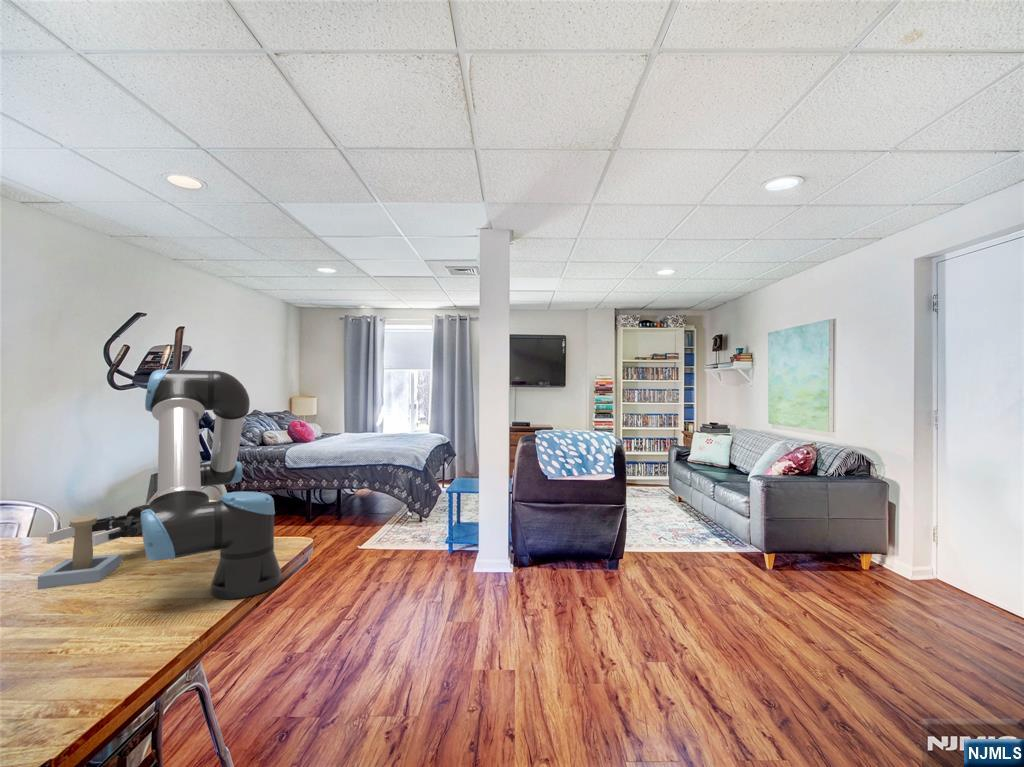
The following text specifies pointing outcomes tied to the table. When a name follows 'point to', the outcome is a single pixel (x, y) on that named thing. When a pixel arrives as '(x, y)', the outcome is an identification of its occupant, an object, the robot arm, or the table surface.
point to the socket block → (79, 572)
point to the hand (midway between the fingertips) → (70, 539)
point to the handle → (83, 542)
